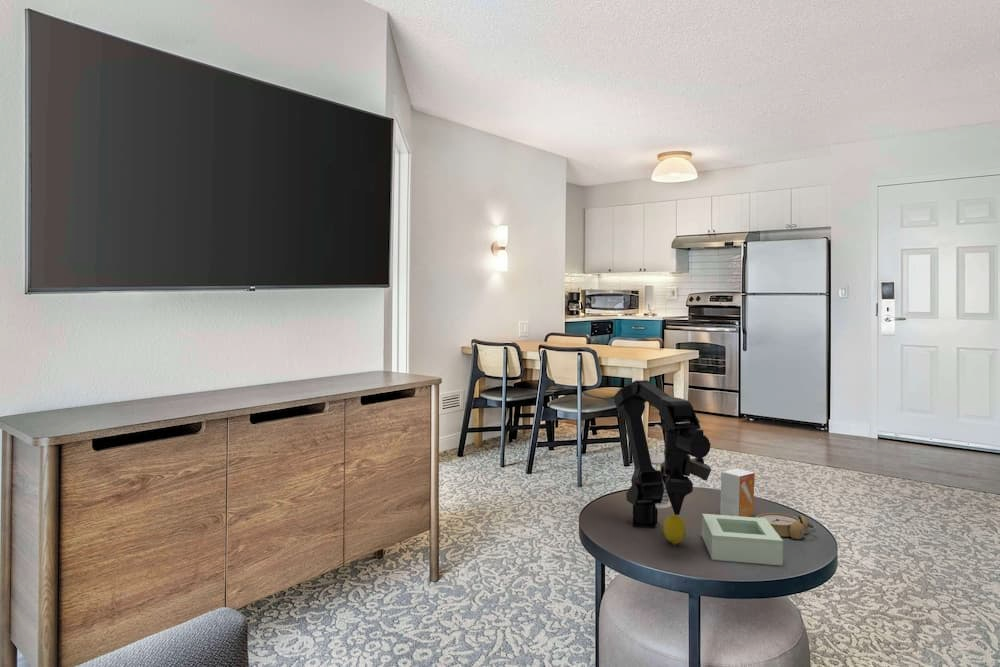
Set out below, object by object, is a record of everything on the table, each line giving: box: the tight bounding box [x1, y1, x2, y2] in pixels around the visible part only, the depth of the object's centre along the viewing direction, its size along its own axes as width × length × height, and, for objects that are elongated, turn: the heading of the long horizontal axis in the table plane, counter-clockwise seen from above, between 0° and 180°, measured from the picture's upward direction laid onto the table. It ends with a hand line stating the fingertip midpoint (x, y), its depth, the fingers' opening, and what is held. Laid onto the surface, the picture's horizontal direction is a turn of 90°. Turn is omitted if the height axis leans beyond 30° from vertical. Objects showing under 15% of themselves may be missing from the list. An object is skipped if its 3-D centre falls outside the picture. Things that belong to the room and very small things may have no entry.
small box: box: [719, 467, 755, 517], centre depth 175 cm, size 8×6×13 cm
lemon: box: [663, 513, 687, 546], centre depth 151 cm, size 6×6×8 cm
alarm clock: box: [756, 512, 816, 540], centre depth 161 cm, size 11×5×15 cm
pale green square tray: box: [701, 513, 784, 567], centre depth 148 cm, size 16×16×6 cm
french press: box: [650, 424, 672, 509], centre depth 185 cm, size 10×12×25 cm
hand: (674, 508), depth 151 cm, fingers open, 9 cm apart
